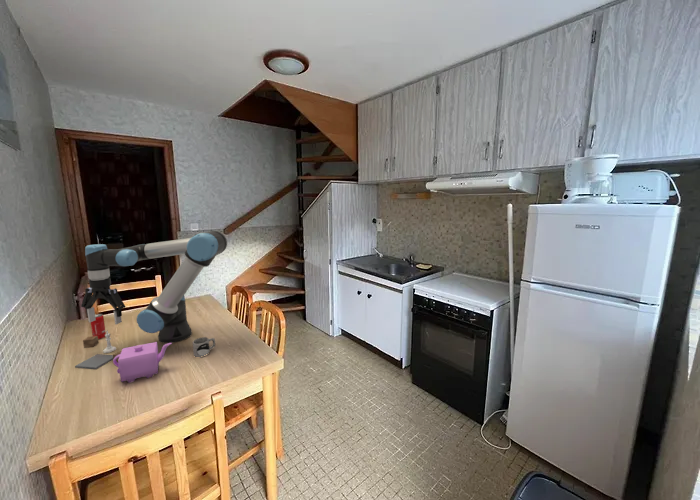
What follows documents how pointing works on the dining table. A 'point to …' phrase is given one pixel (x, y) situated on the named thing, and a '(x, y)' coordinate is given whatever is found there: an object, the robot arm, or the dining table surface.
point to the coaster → (95, 361)
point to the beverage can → (98, 326)
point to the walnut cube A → (90, 341)
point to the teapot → (139, 361)
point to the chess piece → (108, 344)
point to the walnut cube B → (116, 355)
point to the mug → (202, 346)
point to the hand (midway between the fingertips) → (105, 322)
